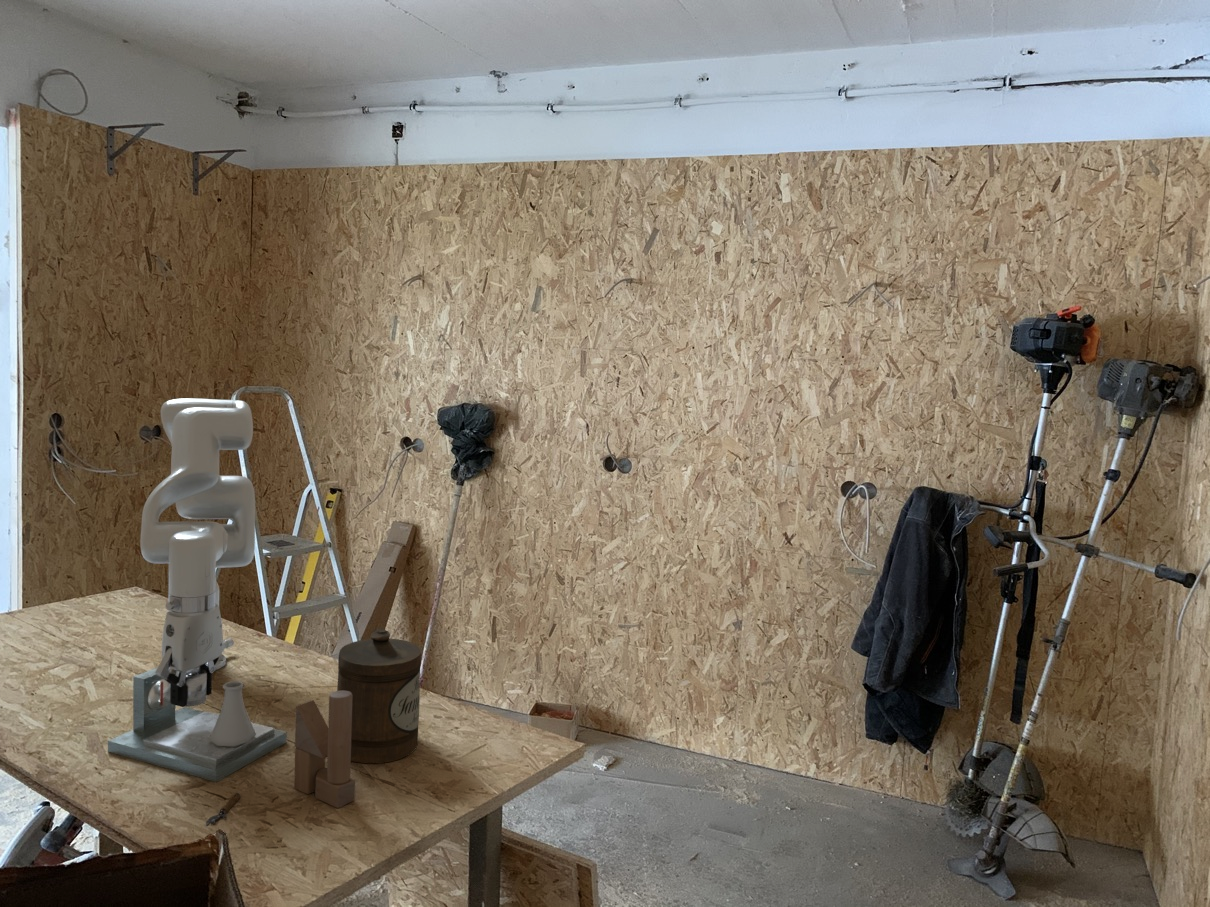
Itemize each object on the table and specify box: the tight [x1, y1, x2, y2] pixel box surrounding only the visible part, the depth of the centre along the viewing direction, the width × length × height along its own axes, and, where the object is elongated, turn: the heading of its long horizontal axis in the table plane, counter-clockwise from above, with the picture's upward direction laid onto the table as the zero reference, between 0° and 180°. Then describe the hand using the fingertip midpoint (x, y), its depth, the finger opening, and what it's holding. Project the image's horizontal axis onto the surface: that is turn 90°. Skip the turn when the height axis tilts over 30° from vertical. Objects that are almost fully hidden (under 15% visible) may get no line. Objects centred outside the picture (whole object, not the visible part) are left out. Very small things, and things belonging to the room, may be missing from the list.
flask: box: [209, 680, 256, 747], centre depth 156 cm, size 7×7×10 cm
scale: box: [107, 667, 288, 783], centre depth 159 cm, size 17×24×12 cm
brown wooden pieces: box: [293, 690, 356, 809], centre depth 144 cm, size 4×11×18 cm, turn 57°
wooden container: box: [336, 628, 422, 764], centre depth 163 cm, size 15×15×22 cm
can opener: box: [205, 792, 241, 827], centre depth 138 cm, size 9×2×1 cm, turn 172°
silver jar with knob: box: [176, 669, 208, 708], centre depth 160 cm, size 5×5×5 cm
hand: (191, 698), depth 160 cm, fingers closed on silver jar with knob, 5 cm apart
